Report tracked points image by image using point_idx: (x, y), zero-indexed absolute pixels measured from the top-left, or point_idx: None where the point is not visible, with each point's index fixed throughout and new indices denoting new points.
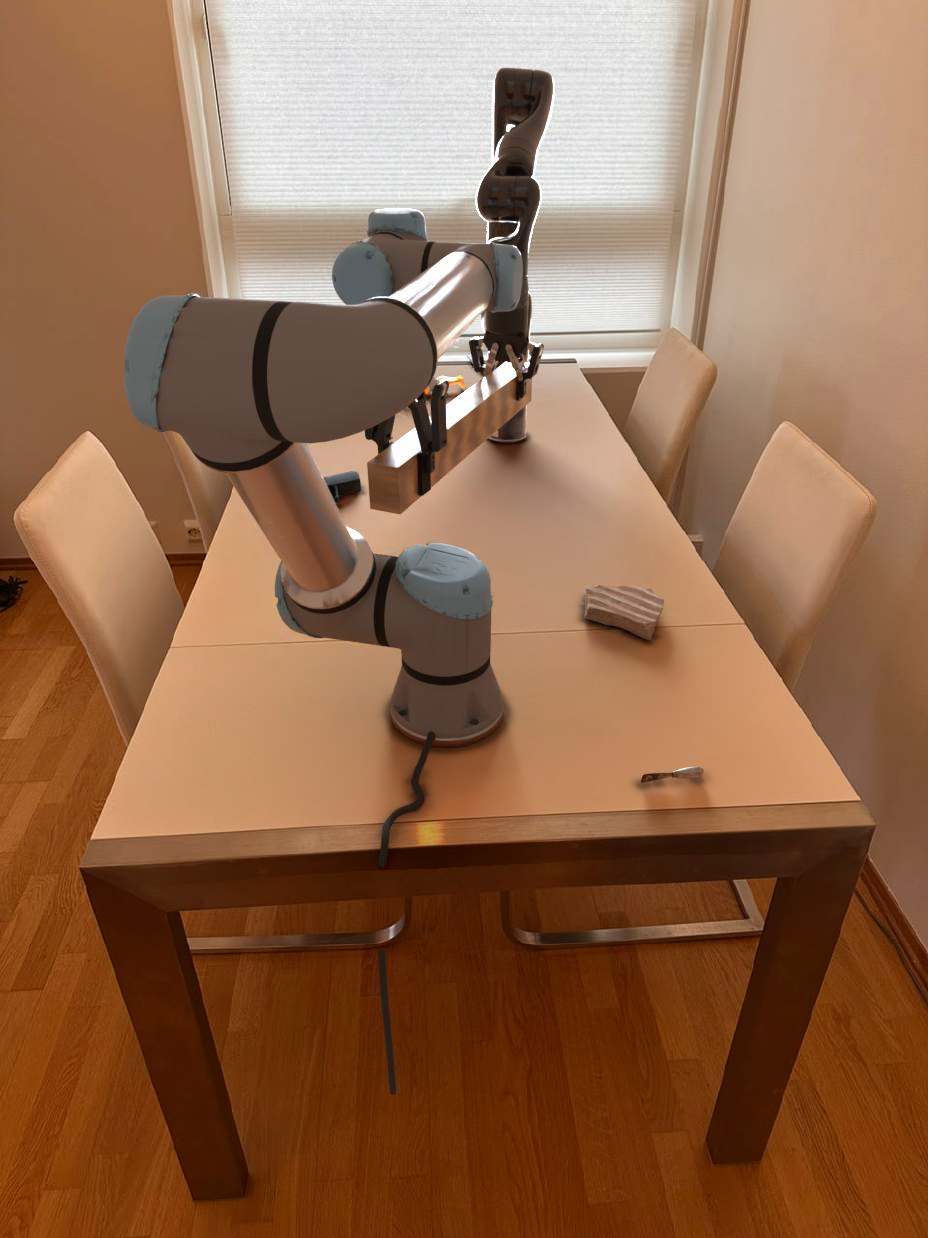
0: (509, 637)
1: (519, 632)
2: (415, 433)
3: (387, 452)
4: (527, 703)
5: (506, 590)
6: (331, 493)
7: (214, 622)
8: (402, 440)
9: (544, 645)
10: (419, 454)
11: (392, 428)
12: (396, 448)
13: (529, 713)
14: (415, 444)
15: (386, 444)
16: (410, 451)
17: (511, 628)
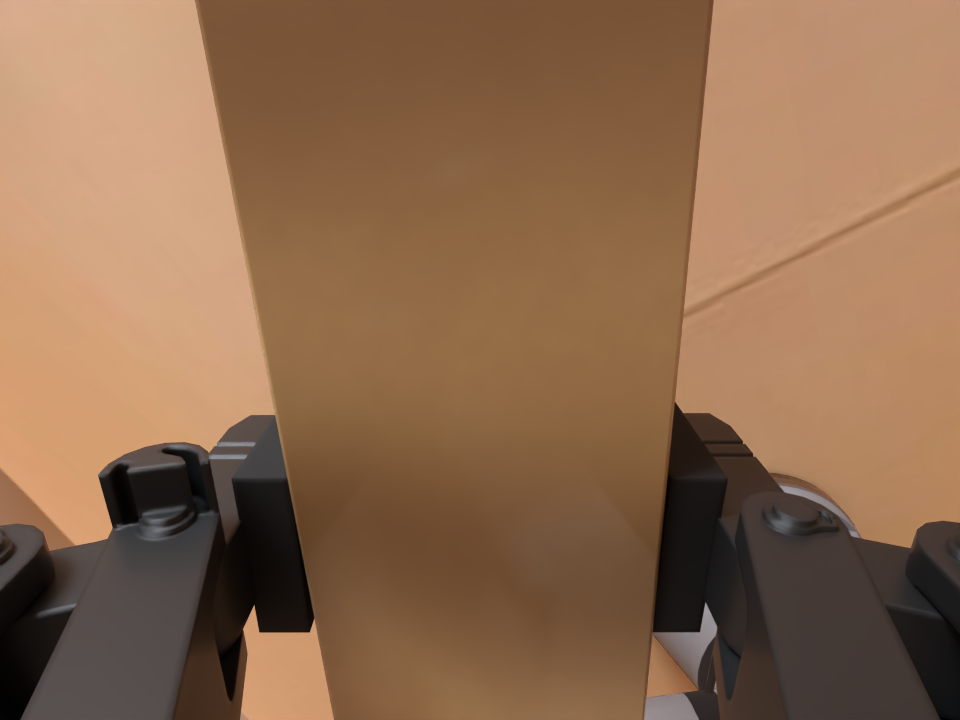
0: (800, 275)
1: (822, 240)
2: (337, 137)
3: (389, 712)
4: (890, 483)
5: (728, 17)
6: None
7: (106, 510)
8: (335, 430)
9: (900, 270)
10: (679, 631)
11: (197, 623)
12: (409, 621)
13: (899, 507)
14: (537, 470)
15: (251, 573)
16: (574, 627)
17: (796, 231)
